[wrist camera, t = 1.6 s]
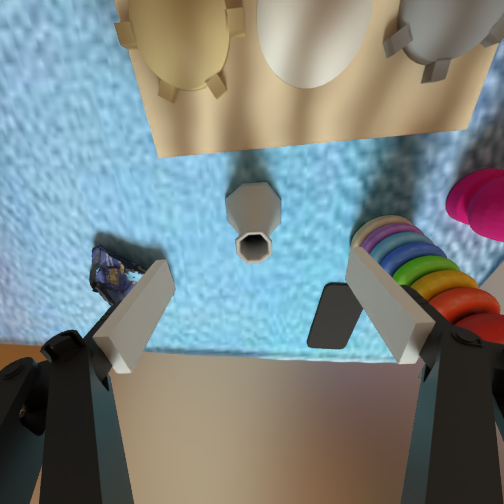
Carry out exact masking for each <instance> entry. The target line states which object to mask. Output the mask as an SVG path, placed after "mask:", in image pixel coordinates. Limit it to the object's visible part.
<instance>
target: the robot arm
mask: <svg viewBox="0 0 504 504" xmlns="http://www.w3.org/2000/svg"><path fill="white" fill-rule="evenodd" d="M345 280H346V282H347V284H348V285H349V287H350V288H351V290H352V291H353V293H354V295H355V296H356V298H357V299H358V301H359V303H360V304H361V306H362V307H363V309H364V310H365V312H366V314H367V315H368V317H369V318H370V320H371V321H372V323H373V325H374V326H375V328H376V329H377V331H378V333H379V334H380V336H381V337H382V339H383V340H384V342H385V344H386V345H387V347H388V348H389V350H390V351H391V353H392V355H393V356H394V358H395V359H396V361H397V363H398V364H415V363H416V361H417V359H418V357H419V355H420V357H421V358H422V359H423V361H424V362H425V365H424V367H423V369H422V371H421V372H420V374H419V376H418V378H421V383H420V389H419V395H418V401H417V407H416V413H415V420H414V425H413V431H412V437H411V443H410V449H409V456H408V461H407V467H406V473H405V479H404V486H403V491H402V497H401V503H400V504H503V496H502V487H501V476H500V467H499V457H498V446H497V437H496V427H495V421H496V424H497V426H498V429H499V431H500V434H501V436H502V439H503V441H504V344H499V343H494V342H489V341H484V340H483V339H482V338H481V337H480V336H478V335H476V334H475V333H473V332H472V331H470V330H467V329H465V328H462V327H458V326H453V325H452V324H451V323H450V322H449V321H448V320H447V319H446V318H445V317H444V316H443V315H442V314H441V313H439V312H438V311H437V310H436V309H435V308H434V307H433V306H432V305H431V304H429V302H428V301H427V300H426V299H424V298H423V296H421V295H420V294H419V293H418V292H417V291H416V290H415V289H413V288H411V287H409V286H408V285H399V284H398V283H397V282H396V281H395V280H394V279H393V278H392V277H391V276H390V275H389V274H388V273H387V272H386V271H385V270H384V269H383V268H382V267H381V266H380V265H379V264H378V263H377V262H376V261H375V260H374V259H373V258H372V257H371V256H370V255H369V254H368V253H367V252H366V251H365V250H364V249H363V248H362V247H352V248H350V253H349V259H348V265H347V271H346V277H345ZM175 290H176V287H175V284H174V281H173V278H172V275H171V272H170V269H169V266H168V263H167V260H166V259H165V260H156V261H155V262H154V263H153V264H152V265H151V267H150V268H149V269H148V270H147V272H146V273H145V274H144V275H143V276H142V278H141V279H140V280H139V281H138V282H137V284H136V285H135V286H134V287H133V288H132V290H131V291H130V292H129V293H128V295H127V296H126V297H125V298H124V299H123V300H119V301H118V302H116V303H115V304H114V305H112V306H111V307H110V308H109V309H108V310H107V312H106V313H105V315H103V316H102V317H101V318H100V321H98V322H97V323H96V324H95V325H94V327H93V328H92V329H91V330H90V331H89V332H88V333H87V335H86V336H85V337H84V338H82V337H81V336H80V334H79V333H78V331H76V330H67V331H64V332H61V333H59V334H57V335H56V336H54V337H52V338H51V339H50V340H48V341H47V342H46V343H45V344H44V345H43V346H42V348H41V351H40V352H41V353H42V354H43V355H44V356H45V357H46V358H47V360H46V361H43V362H40V363H37V362H36V361H34V359H33V358H31V357H26V358H21V359H19V360H17V361H14V362H12V363H10V364H9V365H7V366H6V367H4V368H3V369H2V370H1V371H0V504H30V501H31V497H32V494H33V491H34V488H35V485H36V482H37V479H38V476H39V473H40V469H41V466H42V476H41V486H40V499H39V504H134V501H133V495H132V490H131V484H130V479H129V474H128V469H127V463H126V458H125V453H124V448H123V442H122V437H121V431H120V427H119V421H118V416H117V410H116V405H115V400H114V395H113V389H112V384H111V378H110V376H109V375H108V372H109V371H110V369H111V367H113V368H114V370H115V371H116V372H117V373H132V371H133V369H134V367H135V365H136V363H137V362H138V360H139V358H140V356H141V354H142V352H143V350H144V348H145V347H146V345H147V343H148V341H149V339H150V337H151V335H152V333H153V332H154V330H155V328H156V326H157V324H158V322H159V320H160V318H161V317H162V315H163V313H164V311H165V309H166V307H167V305H168V303H169V301H170V300H171V298H172V296H173V294H174V292H175ZM20 410H22V411H21V414H20ZM19 414H20V416H19Z"/></svg>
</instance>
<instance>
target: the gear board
mask: <svg viewBox="0 0 504 504" xmlns="http://www.w3.org/2000/svg"><path fill="white" fill-rule="evenodd" d="M114 1H115V5H116V8H117V12H118V16H119V19H120V23H114V25H115V28H116V32H117V35H118V39H119V42H120V45H122V46H123V47H124V48H126V49H127V50H128V51H129V55H130V58H131V62H132V65H133V69H134V72H135V76H136V79H137V83H138V87H139V90H140V94H141V97H142V101H143V104H144V108H145V111H146V115H147V118H148V122H149V126H150V129H151V133H152V136H153V140H154V143H155V147H156V150H157V154H158V158H164V157H175V156H186V155H197V154H207V153H218V152H229V151H240V150H251V149H261V148H272V147H283V146H294V145H304V144H315V143H326V142H337V141H347V140H358V139H369V138H380V137H391V136H401V135H412V134H423V133H434V132H444V131H455V130H466V129H467V127H468V124H469V121H470V119H471V116H472V113H473V111H474V108H475V105H476V103H477V100H478V97H479V95H480V92H481V89H482V86H483V84H484V81H485V78H486V76H487V73H488V70H489V68H490V65H491V62H492V60H493V57H494V54H495V52H496V49H497V46H498V44H499V42H501V41H502V39H503V38H504V0H114Z"/></svg>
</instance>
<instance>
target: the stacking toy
mask: <svg viewBox="0 0 504 504" xmlns="http://www.w3.org/2000/svg"><path fill="white" fill-rule="evenodd" d="M352 247H362V248H363V249H364V250H365V251H366V252H367V253H368V254H369V255H370V256H371V257H372V258H373V259H374V260H375V261H376V262H377V263H378V264H379V265H380V266H381V267H382V268H383V269H384V270H385V271H386V272H387V273H388V274H389V275H390V276H391V277H392V278H393V279H394V280H395V281H396V282H397V283H398V284H399V285H408V286H409V287H411V288H413V289H415V290H416V291H417V292H418V293H419V294H420V295H421V296H423V298H424V299H426V300H427V301H428V302H429V304H431V305H432V306H433V307H434V308H435V309H436V310H437V311H438V312H439V313H441V314H442V315H443V316H444V317H445V318H446V319H447V320H448V321H449V322H450V323H451V324H452V325H453V326H458V327H462V328H465V329H467V330H470V331H472V332H473V333H475V334H476V335H478V336H480V337H481V338H482V339H483V340H484V341H489V342H494V343H499V344H504V315H501V314H500V305H499V303H498V302H497V300H496V299H495V298H494V297H493V296H492V295H491V294H489V293H487V292H486V291H483V290H481V289H479V287H478V285H477V283H476V281H475V280H474V279H473V278H472V277H470V276H469V275H467V274H465V273H463V272H461V271H460V269H459V267H458V266H457V265H456V264H455V263H454V262H453V261H451V260H449V259H447V256H446V255H445V253H444V252H443V251H442V250H441V249H440V248H439V247H437V246H435V245H434V244H433V242H432V241H431V240H430V239H429V238H428V237H426V236H425V235H424V233H423V232H422V231H421V230H420V229H419V228H417V227H415V226H414V225H413V224H412V223H411V222H410V221H409V220H407V219H406V218H404V217H401V216H397V215H385V216H380V217H377V218H374V219H372V220H370V221H369V222H367V223H366V224H364V225H363V226H362V227H361V228H360V229H359V230H358V231H357V232H356V234H355V235H354V237H353V239H352V242H351V248H352Z"/></svg>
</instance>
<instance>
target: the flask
mask: <svg viewBox="0 0 504 504" xmlns="http://www.w3.org/2000/svg"><path fill="white" fill-rule="evenodd" d="M225 204H226V212H227V220H228V222H229V224H230V225H231V226H232V227H233V228H234V229H235V231H236V232H237V233H238V235H239V237H237V238H236V239H235V243H236V252H237V255H238V256H239V257H240V258H241V259H242V260H243V261H244V262H245V263H261V262H262V261H264V260H265V259H267V258H268V257H270V256H271V255H272V240H271V239H270V238H269V236H270V235H271V233H272V232H273V231H274V230H275V228H276V227H277V226H278V225H279V224H280V223H281V199H280V198H279V197H278V196H277V194H276V193H275V192H274V190H273V189H272V188H271V187H270V185H269V184H268V183H267V182H257V183H242V184H241V185H240V186H239V187H238V188H237V189H236V190H234V191H233V192H232V193H231V194H230V195H229V196H228V197H227V198H225Z"/></svg>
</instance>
